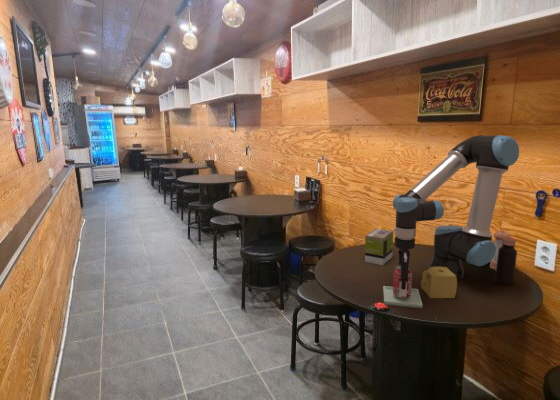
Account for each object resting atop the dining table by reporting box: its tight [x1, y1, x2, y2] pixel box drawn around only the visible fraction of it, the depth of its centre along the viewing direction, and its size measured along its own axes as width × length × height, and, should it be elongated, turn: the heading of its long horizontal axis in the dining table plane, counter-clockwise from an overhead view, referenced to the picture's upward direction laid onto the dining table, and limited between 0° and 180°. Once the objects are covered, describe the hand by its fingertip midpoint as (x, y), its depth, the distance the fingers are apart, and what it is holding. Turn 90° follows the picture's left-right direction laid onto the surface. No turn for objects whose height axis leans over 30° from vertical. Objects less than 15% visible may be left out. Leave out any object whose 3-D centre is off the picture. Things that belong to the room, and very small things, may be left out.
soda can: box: [392, 264, 413, 298], centre depth 142 cm, size 7×7×12 cm
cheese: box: [420, 267, 458, 299], centre depth 146 cm, size 10×11×10 cm
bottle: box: [494, 237, 518, 286], centre depth 154 cm, size 7×7×20 cm
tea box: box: [364, 228, 394, 266], centre depth 185 cm, size 15×10×15 cm, turn 144°
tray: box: [382, 285, 423, 309], centre depth 143 cm, size 14×14×2 cm
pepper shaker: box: [489, 230, 512, 271], centre depth 170 cm, size 7×7×19 cm
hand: (401, 291), depth 143 cm, fingers closed on soda can, 7 cm apart
